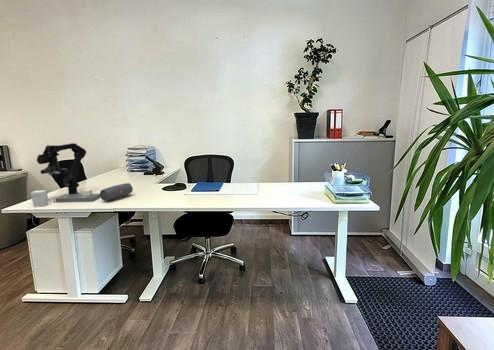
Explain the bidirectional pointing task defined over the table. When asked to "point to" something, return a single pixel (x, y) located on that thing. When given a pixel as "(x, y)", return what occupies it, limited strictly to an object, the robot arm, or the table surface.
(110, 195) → the bluetooth speaker
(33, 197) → the small box
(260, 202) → the table surface
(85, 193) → the fader tab
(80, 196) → the console
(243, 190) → the table surface
